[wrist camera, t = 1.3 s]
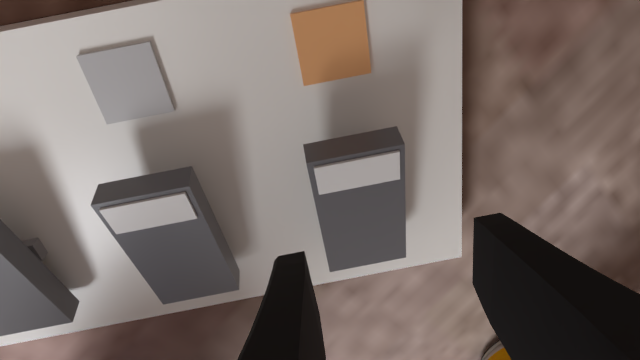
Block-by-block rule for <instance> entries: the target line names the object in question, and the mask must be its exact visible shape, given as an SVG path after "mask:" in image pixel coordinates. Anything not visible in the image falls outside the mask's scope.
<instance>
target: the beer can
mask: <svg viewBox="0 0 640 360" xmlns="http://www.w3.org/2000/svg"><path fill="white" fill-rule="evenodd" d="M482 360H511V358H510V356H509V355H508V353H507V351H506V350H505V348H504V346H503V345H502V343H501V341H499V342H497V343H496V344H494V345H493V346H492V347H491V348H490V349H489V350H488V351H487V352H486V353H485V355H484V356H483V358H482Z"/></svg>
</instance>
